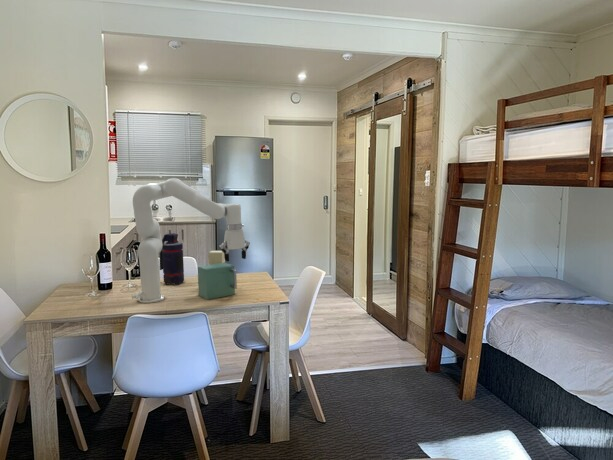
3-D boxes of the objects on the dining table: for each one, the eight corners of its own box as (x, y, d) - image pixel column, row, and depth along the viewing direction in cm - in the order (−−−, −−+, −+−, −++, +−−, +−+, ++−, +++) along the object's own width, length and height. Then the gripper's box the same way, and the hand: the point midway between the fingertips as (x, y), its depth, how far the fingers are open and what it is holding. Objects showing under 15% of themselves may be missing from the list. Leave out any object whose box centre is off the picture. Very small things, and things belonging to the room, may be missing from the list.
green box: (239, 296, 236) (238, 267, 234) (211, 301, 226) (210, 271, 225) (234, 294, 241) (233, 265, 239) (206, 299, 231) (205, 269, 230)
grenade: (187, 281, 273) (185, 232, 270) (179, 285, 262) (176, 235, 258) (166, 280, 275) (163, 232, 272) (157, 285, 264) (154, 234, 260)
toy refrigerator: (226, 285, 260) (225, 250, 258) (222, 288, 253) (221, 252, 251) (213, 285, 261) (211, 250, 259) (209, 288, 254) (207, 252, 251)
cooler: (234, 294, 241) (233, 265, 239) (206, 299, 232) (205, 269, 230) (225, 290, 249) (224, 262, 247) (198, 295, 240) (197, 266, 238)
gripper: (245, 225, 239) (246, 256, 241) (215, 228, 229) (217, 261, 231) (252, 226, 233) (253, 258, 235) (222, 229, 223) (223, 263, 225)
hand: (235, 259), depth 233 cm, fingers open, 9 cm apart
